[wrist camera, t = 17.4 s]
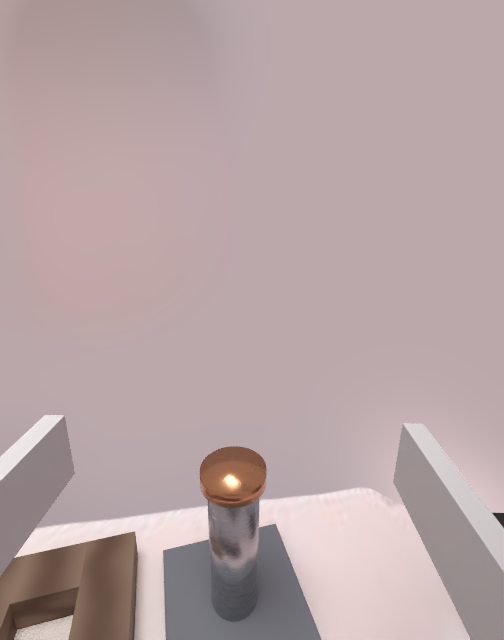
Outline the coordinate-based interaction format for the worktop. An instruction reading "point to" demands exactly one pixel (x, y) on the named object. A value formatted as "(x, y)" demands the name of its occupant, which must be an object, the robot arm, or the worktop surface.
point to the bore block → (74, 589)
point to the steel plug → (233, 527)
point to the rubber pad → (272, 605)
